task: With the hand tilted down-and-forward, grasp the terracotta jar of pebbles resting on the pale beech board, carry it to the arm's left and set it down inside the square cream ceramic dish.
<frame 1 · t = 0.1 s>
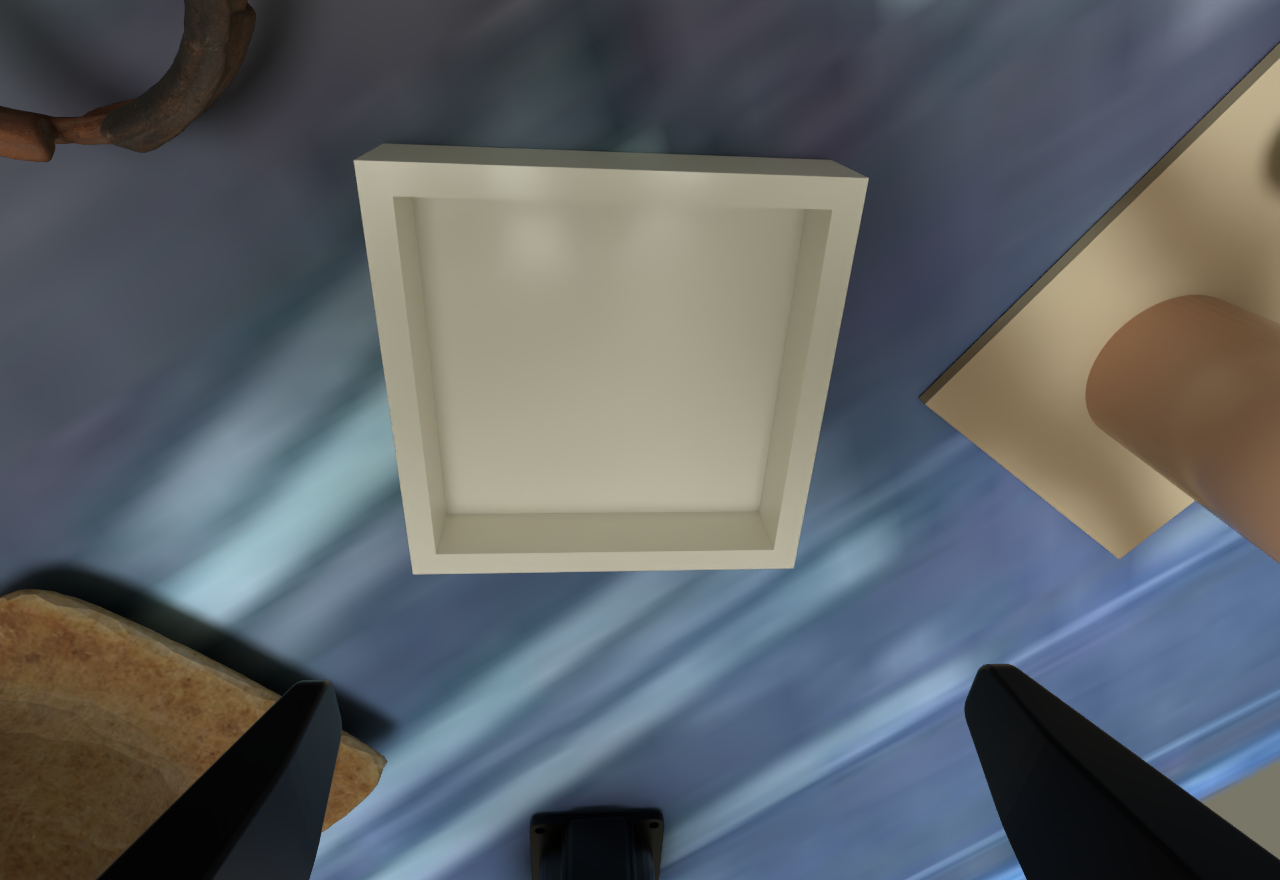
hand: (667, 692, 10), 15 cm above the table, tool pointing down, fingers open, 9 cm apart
beech board: (1211, 316, 24), on the table
brown flared stand: (165, 709, 30), on the table
terracotta jar: (1164, 371, 24), resting on beech board
cream dish: (608, 359, 23), on the table
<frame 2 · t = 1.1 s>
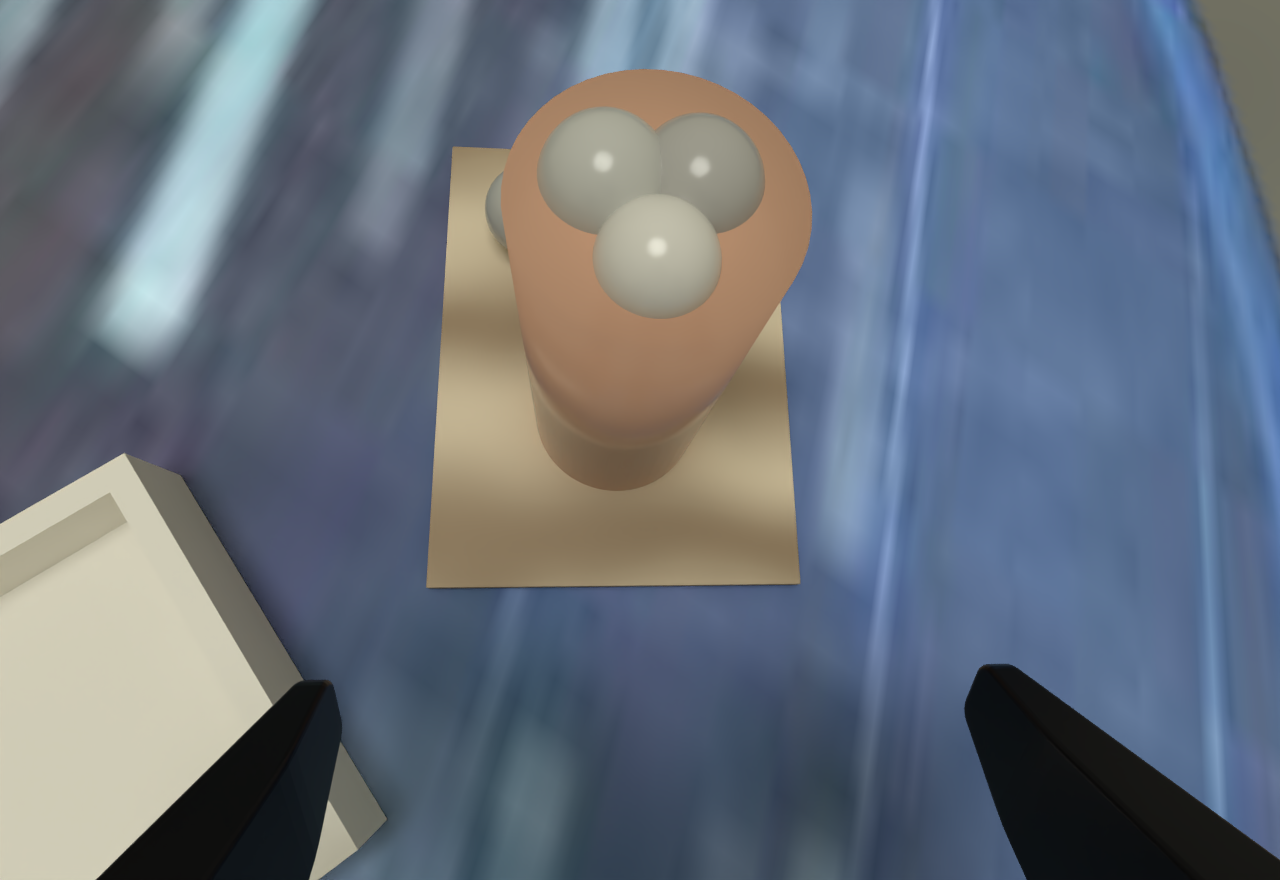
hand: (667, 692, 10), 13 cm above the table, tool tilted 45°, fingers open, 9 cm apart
grey pebble: (532, 234, 26), resting on beech board
beech board: (615, 357, 25), on the table
terracotta jar: (615, 412, 24), point 1 cm above the table, touching beech board
cream dish: (78, 772, 21), on the table
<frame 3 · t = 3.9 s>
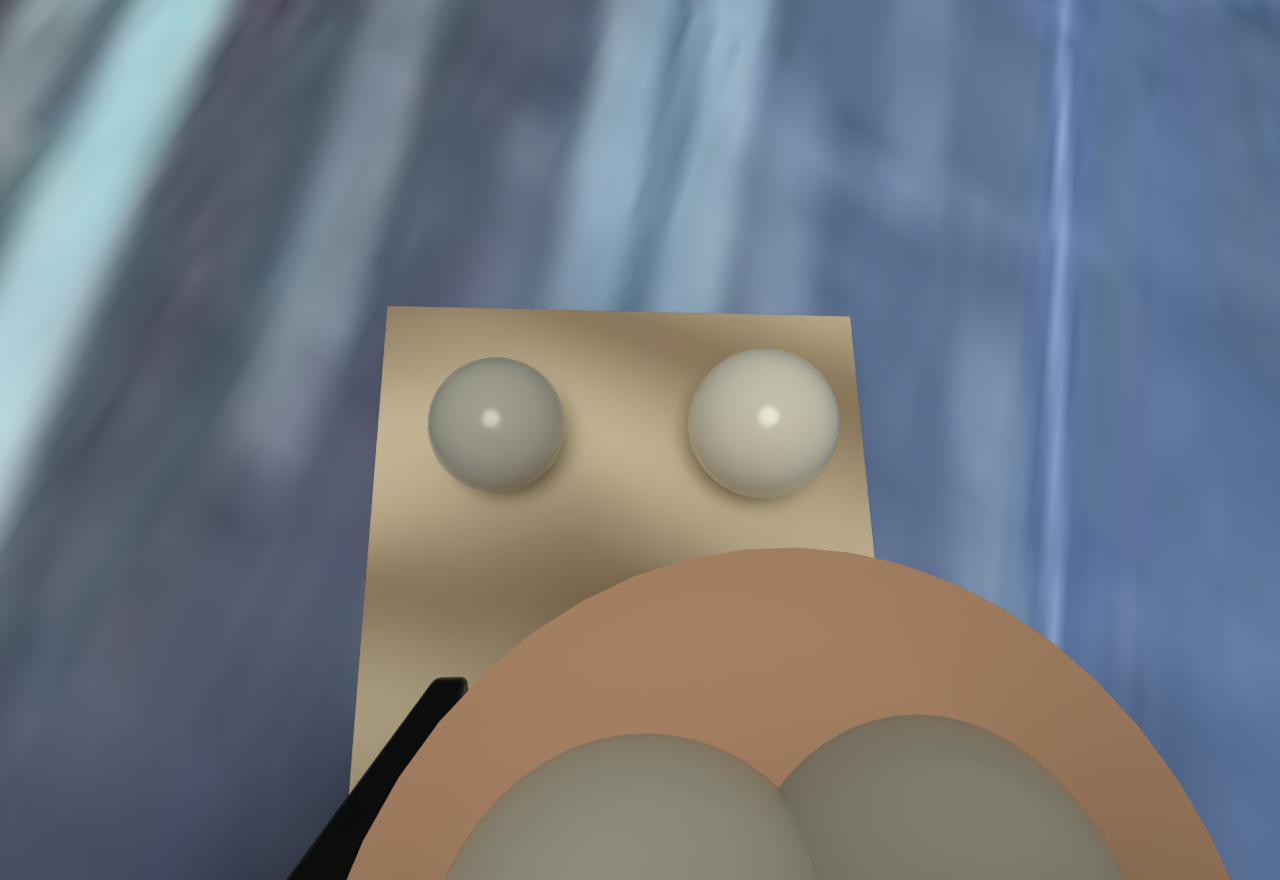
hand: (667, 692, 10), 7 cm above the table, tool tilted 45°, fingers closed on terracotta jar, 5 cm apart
white pebble: (745, 442, 18), resting on beech board
grey pebble: (503, 442, 17), resting on beech board
beech board: (628, 630, 17), on the table
terracotta jar: (630, 734, 16), point 1 cm above the table, touching beech board, gripper
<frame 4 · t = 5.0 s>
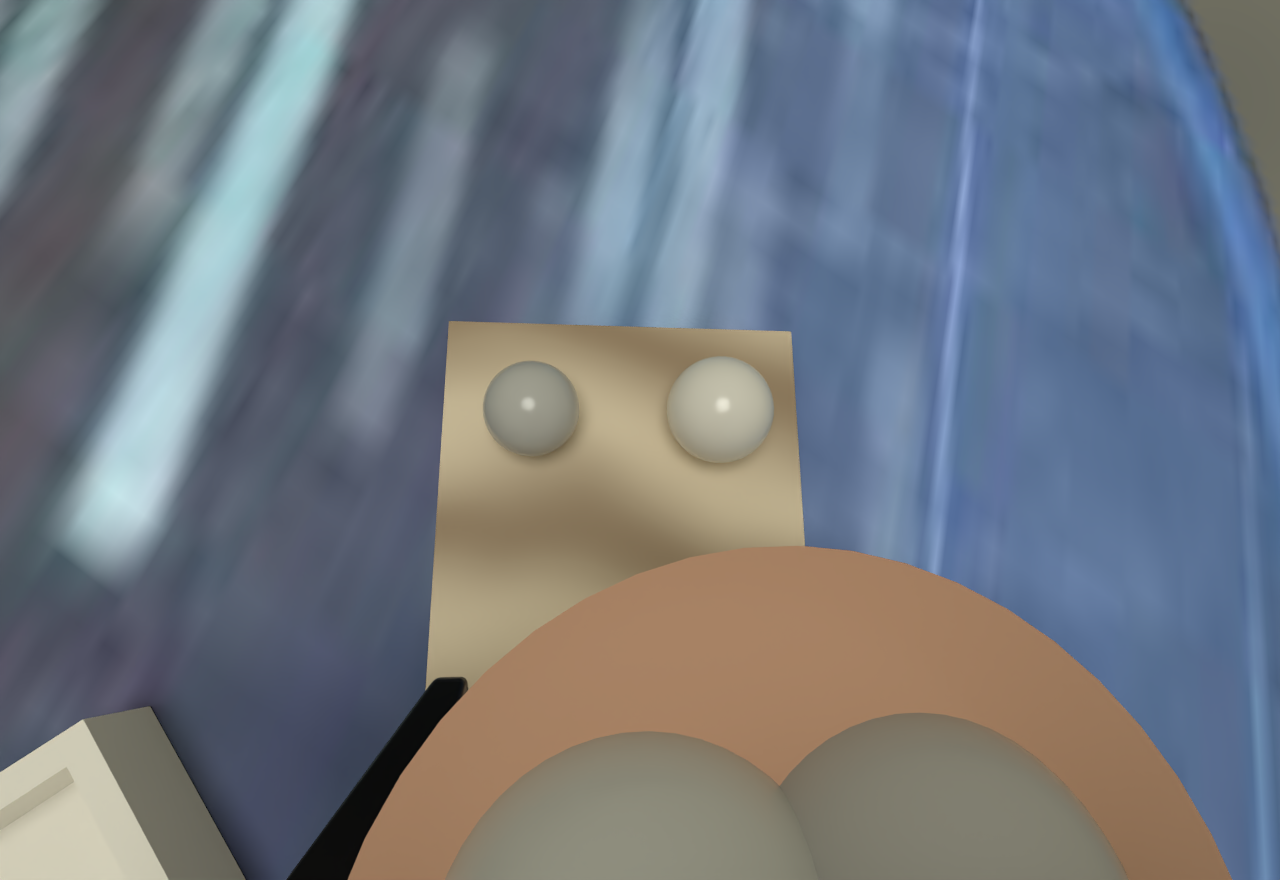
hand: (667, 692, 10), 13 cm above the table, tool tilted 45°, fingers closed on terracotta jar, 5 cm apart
white pebble: (710, 424, 24), resting on beech board
grey pebble: (533, 421, 24), resting on beech board
beech board: (623, 558, 23), on the table
terracotta jar: (631, 731, 16), point 7 cm above the table, touching gripper
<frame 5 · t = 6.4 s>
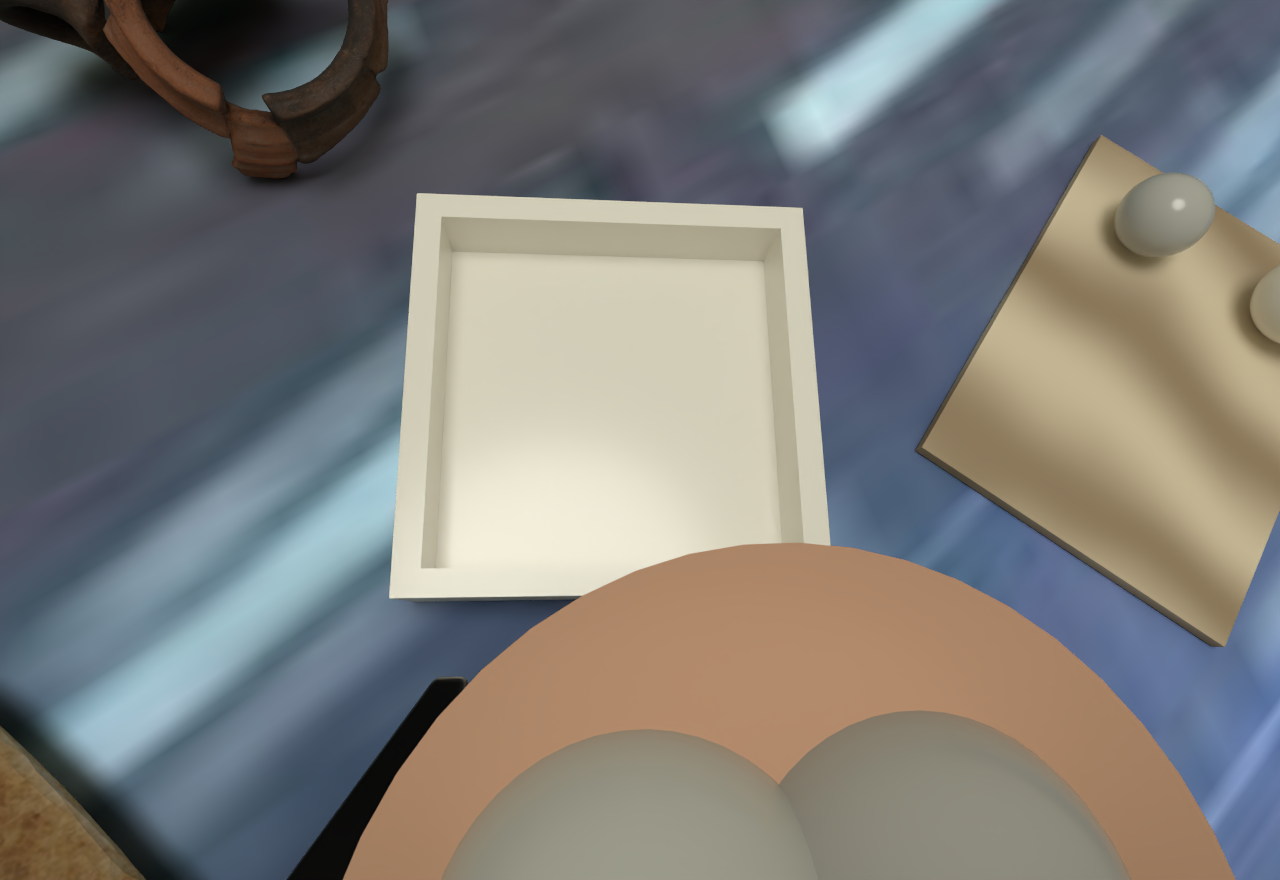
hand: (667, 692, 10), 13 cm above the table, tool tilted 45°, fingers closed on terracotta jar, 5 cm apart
white pebble: (1267, 320, 27), resting on beech board
grey pebble: (1132, 236, 28), resting on beech board
beech board: (1146, 371, 27), on the table
terracotta jar: (631, 731, 16), point 7 cm above the table, touching gripper
cream dish: (611, 411, 25), on the table
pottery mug: (244, 81, 27), on the table
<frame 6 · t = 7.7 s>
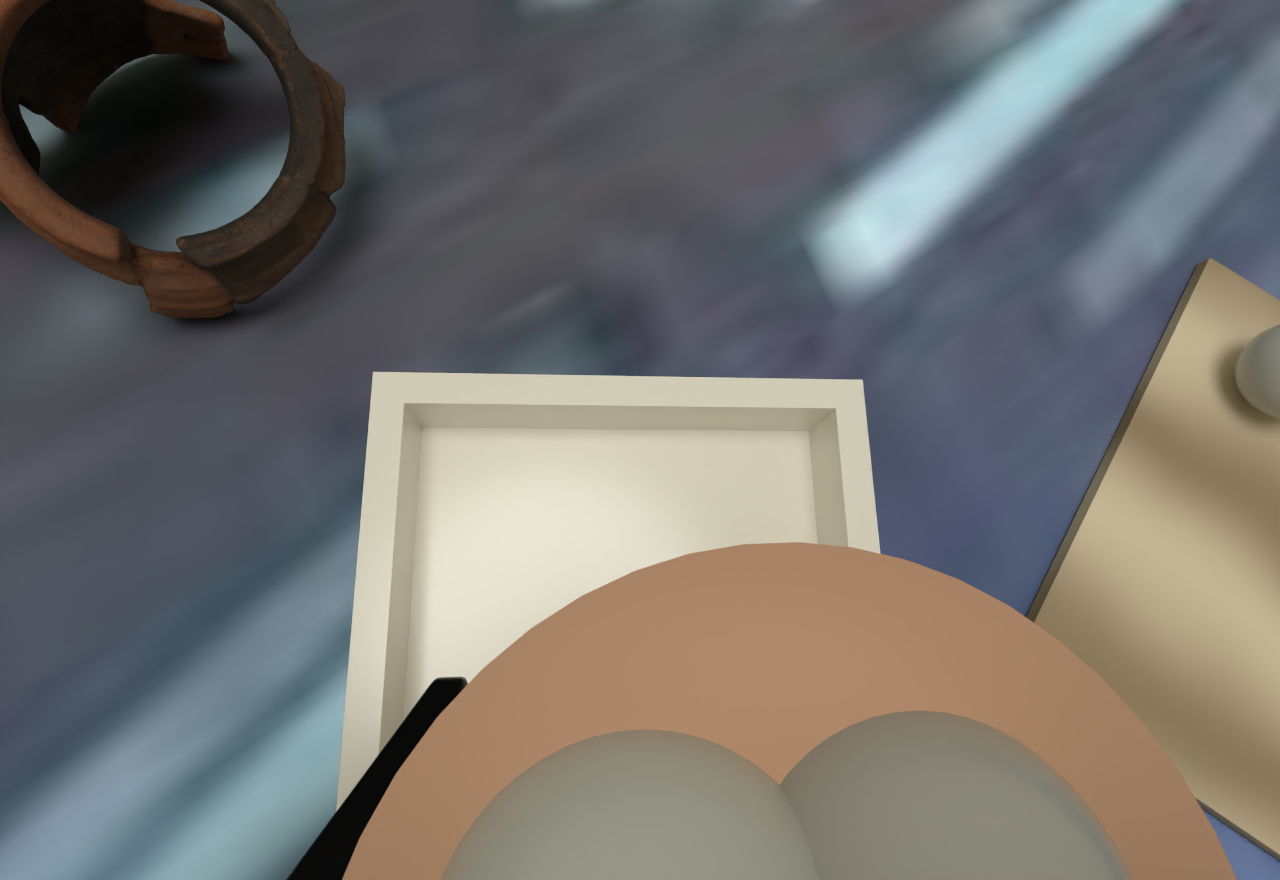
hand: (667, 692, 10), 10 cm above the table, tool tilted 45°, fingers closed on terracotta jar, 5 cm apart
grey pebble: (1253, 386, 23), resting on beech board
beech board: (1277, 558, 22), on the table
terracotta jar: (631, 731, 16), point 3 cm above the table, touching gripper
cream dish: (620, 629, 20), on the table
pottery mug: (174, 191, 22), on the table
when the fingers open (9 cm above the table, at t = 8.6 s): terracotta jar drops 1 cm, resting on cream dish.
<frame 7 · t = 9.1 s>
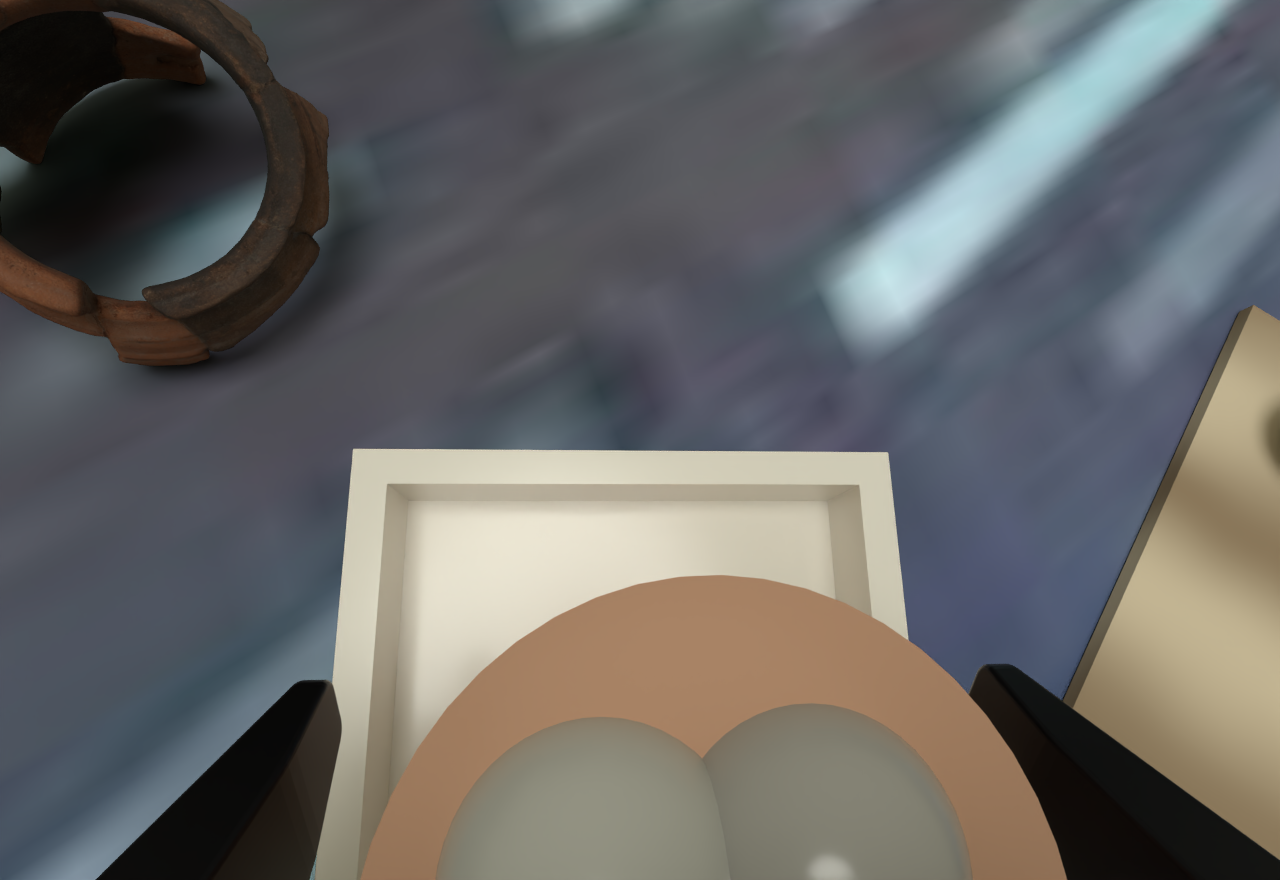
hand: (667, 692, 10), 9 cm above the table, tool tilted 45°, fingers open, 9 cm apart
terracotta jar: (626, 731, 17), point 1 cm above the table, touching cream dish
cream dish: (623, 721, 18), on the table
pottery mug: (147, 226, 21), on the table
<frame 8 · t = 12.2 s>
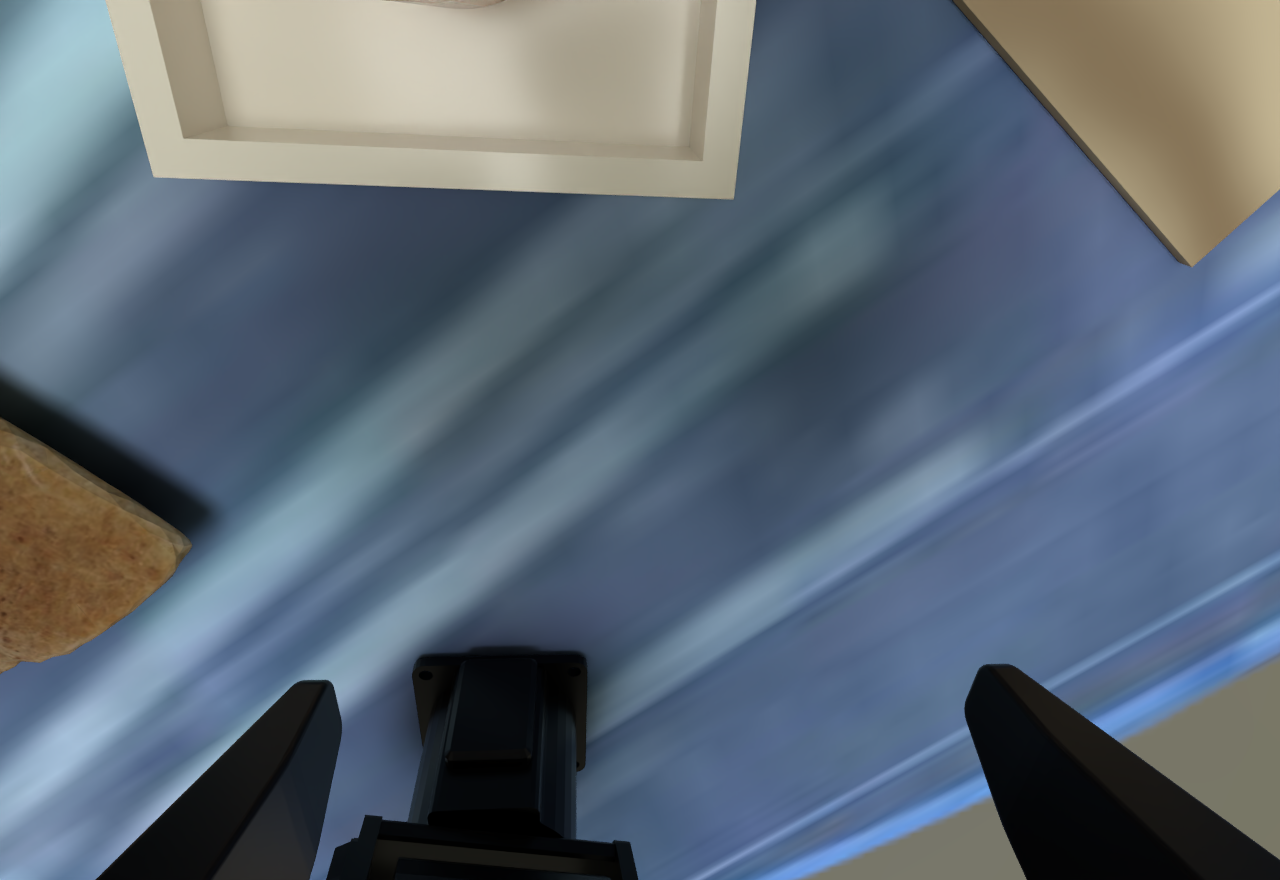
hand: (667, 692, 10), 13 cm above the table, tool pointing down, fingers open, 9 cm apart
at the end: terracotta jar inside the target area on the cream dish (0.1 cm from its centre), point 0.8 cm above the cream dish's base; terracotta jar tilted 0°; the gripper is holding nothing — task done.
